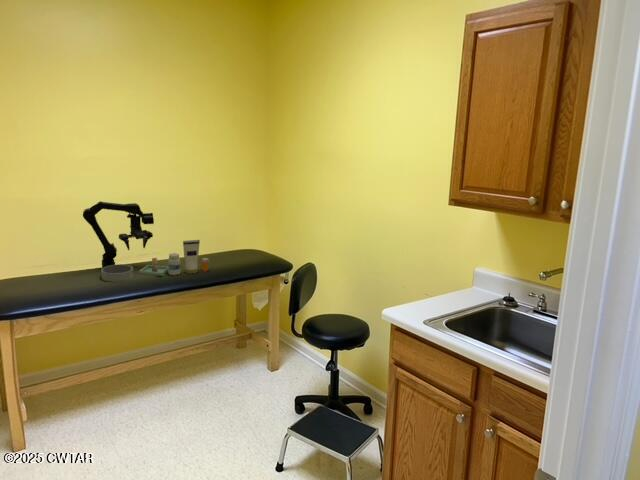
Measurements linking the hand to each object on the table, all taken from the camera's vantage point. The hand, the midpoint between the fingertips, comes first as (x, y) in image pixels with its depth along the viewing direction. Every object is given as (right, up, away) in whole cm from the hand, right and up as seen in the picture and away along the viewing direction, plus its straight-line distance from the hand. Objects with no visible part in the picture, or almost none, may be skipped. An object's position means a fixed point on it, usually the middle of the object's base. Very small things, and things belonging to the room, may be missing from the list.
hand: (136, 249), depth 276 cm
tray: (+13, -14, -4) cm, 19 cm away
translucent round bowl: (-4, -16, -16) cm, 23 cm away
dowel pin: (+13, -13, -4) cm, 19 cm away
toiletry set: (+32, -15, +2) cm, 35 cm away
